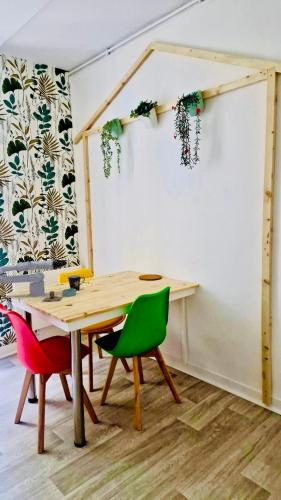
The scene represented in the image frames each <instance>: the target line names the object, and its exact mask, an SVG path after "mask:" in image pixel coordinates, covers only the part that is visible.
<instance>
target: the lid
mask: <svg viewBox="0 0 281 500" xmlns="http://www.w3.org/2000/svg"><path fill="white" fill-rule="evenodd" d="M60 297H61V296H59V295H58V296H57V295H56V296H55V291H54V290H51V291H49V296H48V297H45V298H43V300H44V301H46V302H45V303H53V302H54V301H58V300H60ZM54 303H55V302H54Z"/></svg>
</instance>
